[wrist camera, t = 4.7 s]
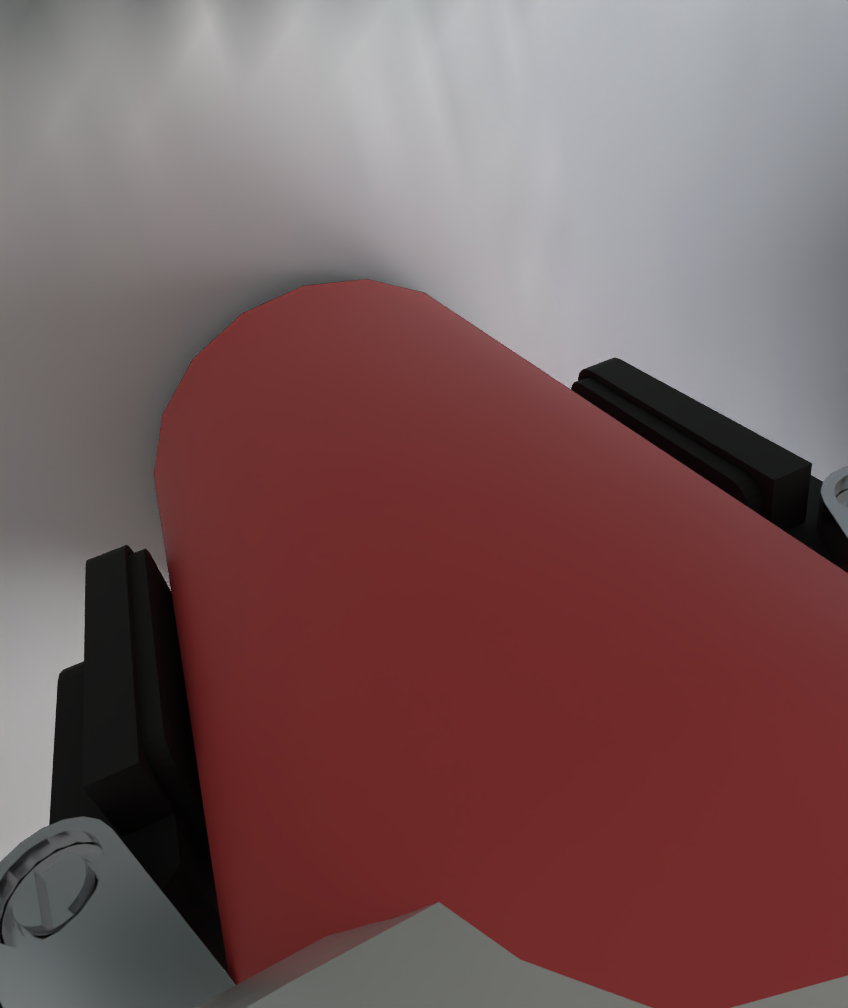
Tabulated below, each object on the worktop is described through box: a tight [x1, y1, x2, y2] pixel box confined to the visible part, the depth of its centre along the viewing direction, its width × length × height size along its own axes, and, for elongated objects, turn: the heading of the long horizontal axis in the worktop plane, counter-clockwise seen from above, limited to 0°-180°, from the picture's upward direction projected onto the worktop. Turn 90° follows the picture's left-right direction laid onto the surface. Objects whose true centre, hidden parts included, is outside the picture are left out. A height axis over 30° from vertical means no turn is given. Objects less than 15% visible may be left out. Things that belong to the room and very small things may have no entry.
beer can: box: [154, 279, 848, 1008], centre depth 9 cm, size 7×7×12 cm
